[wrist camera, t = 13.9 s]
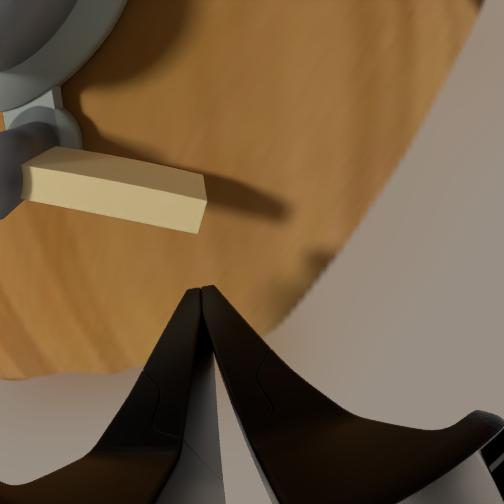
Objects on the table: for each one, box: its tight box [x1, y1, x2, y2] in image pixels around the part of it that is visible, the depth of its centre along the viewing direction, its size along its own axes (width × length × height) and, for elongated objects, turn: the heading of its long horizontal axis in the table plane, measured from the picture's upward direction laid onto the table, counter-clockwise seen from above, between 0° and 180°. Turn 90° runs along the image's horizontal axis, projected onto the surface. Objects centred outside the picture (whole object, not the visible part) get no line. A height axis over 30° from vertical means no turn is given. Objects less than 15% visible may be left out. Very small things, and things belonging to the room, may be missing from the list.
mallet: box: [0, 121, 207, 234], centre depth 9 cm, size 10×3×4 cm, turn 71°
